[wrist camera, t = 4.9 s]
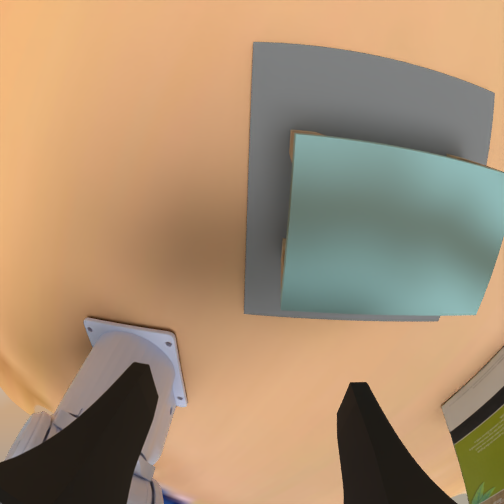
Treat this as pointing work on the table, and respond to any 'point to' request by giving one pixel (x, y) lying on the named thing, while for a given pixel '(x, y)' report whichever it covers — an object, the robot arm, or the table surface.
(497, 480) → the tea box
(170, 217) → the table surface
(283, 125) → the floor mat
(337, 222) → the footstool
